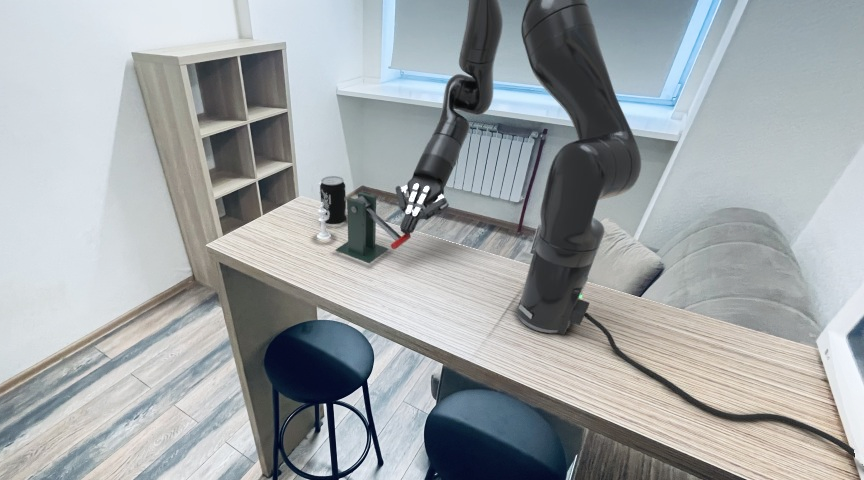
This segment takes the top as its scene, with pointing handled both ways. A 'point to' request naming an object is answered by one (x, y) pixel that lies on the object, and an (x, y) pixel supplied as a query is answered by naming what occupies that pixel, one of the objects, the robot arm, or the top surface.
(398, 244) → the lever
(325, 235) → the chess piece
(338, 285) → the top surface
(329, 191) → the beverage can
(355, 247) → the bracket
